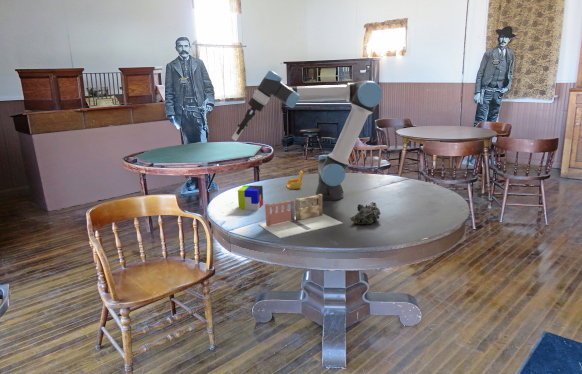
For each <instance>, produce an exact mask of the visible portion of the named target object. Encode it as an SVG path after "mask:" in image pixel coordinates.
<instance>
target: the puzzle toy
mask: <svg viewBox="0 0 582 374" xmlns="http://www.w3.org/2000/svg"><path fill="white" fill-rule="evenodd" d="M263 191H264V190H263V185H248V184H246V185H245V184H244V185H243V186H241V187H240V188H239V189H238V190H237V199H238V210H240V211H241V210H245V211H250V210H251V211H259V210H260V209H259V208H262V206H263V205H264V193H263Z"/></svg>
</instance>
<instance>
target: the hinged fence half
mask: <svg viewBox="0 0 582 374" xmlns="http://www.w3.org/2000/svg"><path fill="white" fill-rule="evenodd" d="M289 204H290V209H288V205H289ZM264 206H265V207H264V209H265V210H264V211H265V223H266V226H270V225H274V224H278V223H283V222H287V221H291V220H295V216H296V213H295V199H291V200H285V201H281V202H275V203H271V204H270V203H265V204H264ZM282 206H283V210H282ZM276 207H277V208H276ZM276 209H277V210H276Z"/></svg>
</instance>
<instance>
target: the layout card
mask: <svg viewBox="0 0 582 374" xmlns="http://www.w3.org/2000/svg"><path fill="white" fill-rule="evenodd" d="M343 224H344V223H343V222H342V221H340V220H337V219H335V218H333V217H331V216H329V215H327V214H325V213H322V215H319V216H315V217H310V218H305V219H301V220H296V215H295V220H291V221H287V222H283V223H278V224H274V225H270V226H266V222H261V223H259V224H258V226H260V227H261V228H262V229H265V231H267V232H269V233H270V234H272V235H274V236H275V237H277V238H278V239H283V238H287V237H292V236H297V235H301V234H305V233H309V232H313V231H317V230H321V229H326V228H330V227H335V226H339V225H343Z"/></svg>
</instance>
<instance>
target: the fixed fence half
mask: <svg viewBox="0 0 582 374" xmlns="http://www.w3.org/2000/svg"><path fill="white" fill-rule="evenodd" d="M307 201H308V206H307ZM312 201H313V203H312ZM300 202H302V207H301V208H300V205H301V204H300ZM294 213H295V216H296V220H301V219H305V218H310V217H315V216H319V215H322V214H323V200H322V194H318V195H316V194H315V195H312V196H311V195H310V196H306V197H302V198H301V197H300V198H294Z"/></svg>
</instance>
